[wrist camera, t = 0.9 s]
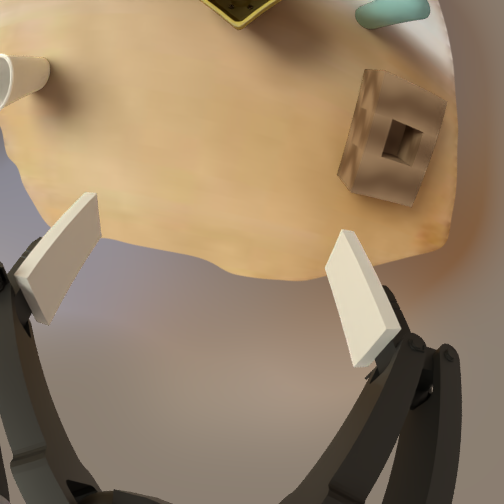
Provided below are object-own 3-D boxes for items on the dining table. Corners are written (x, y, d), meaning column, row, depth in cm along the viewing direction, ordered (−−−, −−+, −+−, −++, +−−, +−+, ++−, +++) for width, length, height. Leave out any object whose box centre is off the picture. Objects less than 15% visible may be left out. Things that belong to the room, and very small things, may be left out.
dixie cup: (64, 55, 24) (19, 59, 15) (45, 105, 28) (2, 121, 20) (31, 45, 21) (-12, 50, 13) (15, 91, 25) (-26, 106, 17)
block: (364, 69, 27) (385, 70, 23) (423, 94, 28) (447, 101, 24) (337, 174, 37) (350, 192, 32) (393, 188, 38) (411, 207, 33)
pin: (357, 2, 21) (401, -18, 12) (381, 12, 22) (431, -1, 12) (353, 23, 23) (397, 8, 14) (377, 33, 24) (428, 25, 14)
